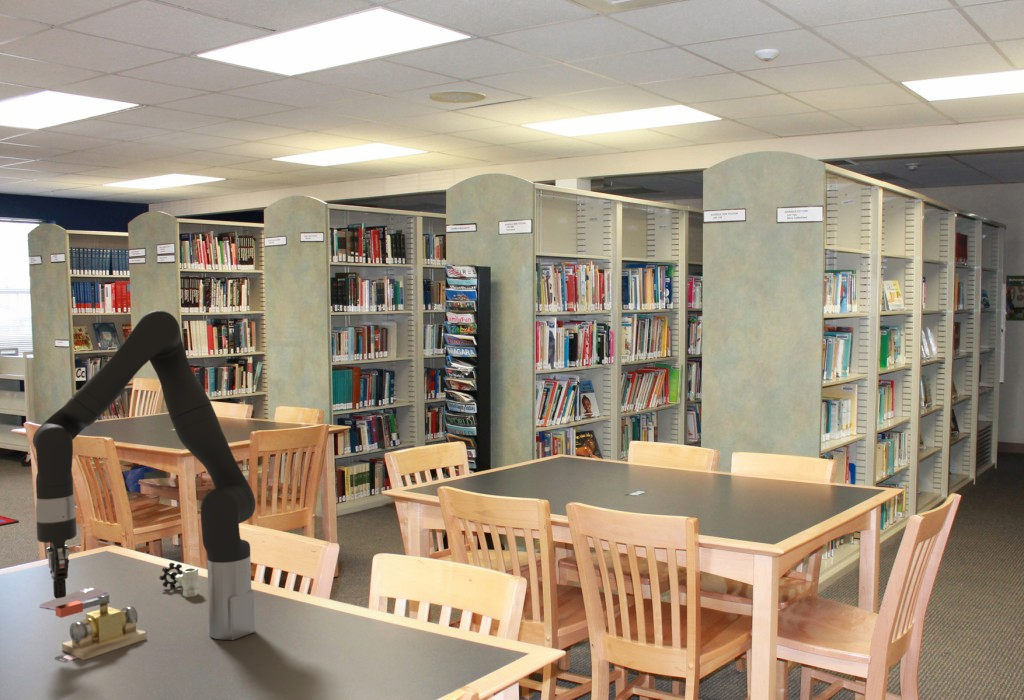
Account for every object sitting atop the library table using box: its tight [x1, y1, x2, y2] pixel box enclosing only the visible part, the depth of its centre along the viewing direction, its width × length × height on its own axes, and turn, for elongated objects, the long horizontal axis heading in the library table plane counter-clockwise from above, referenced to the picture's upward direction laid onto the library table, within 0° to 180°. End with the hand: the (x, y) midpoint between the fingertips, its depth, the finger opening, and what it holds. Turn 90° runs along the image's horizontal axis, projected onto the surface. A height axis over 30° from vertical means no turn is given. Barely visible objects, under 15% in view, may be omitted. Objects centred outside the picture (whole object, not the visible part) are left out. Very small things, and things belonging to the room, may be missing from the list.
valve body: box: [69, 603, 139, 644], centre depth 190 cm, size 5×13×8 cm, turn 144°
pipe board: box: [61, 622, 147, 660], centre depth 190 cm, size 9×14×4 cm, turn 144°
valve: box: [159, 562, 200, 598], centre depth 226 cm, size 7×7×12 cm
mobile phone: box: [38, 587, 108, 611], centre depth 221 cm, size 8×1×15 cm
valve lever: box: [55, 593, 111, 619], centre depth 187 cm, size 11×2×2 cm, turn 143°
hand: (59, 596), depth 188 cm, fingers closed
